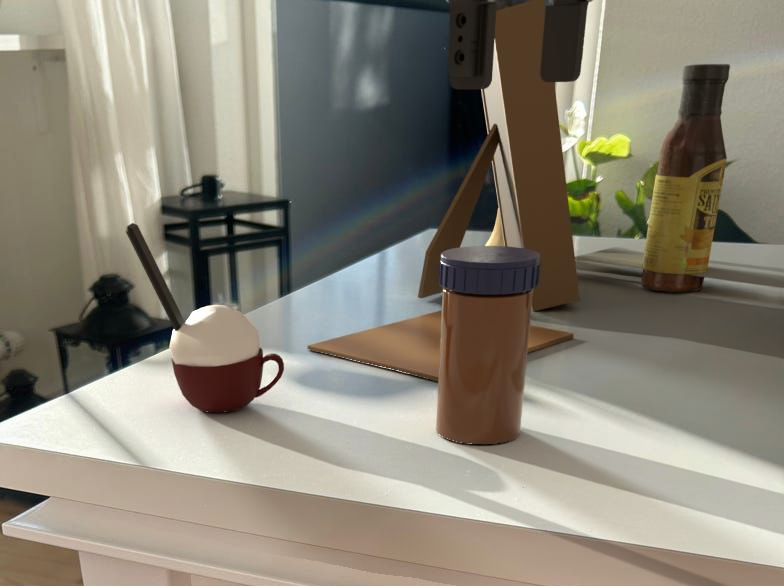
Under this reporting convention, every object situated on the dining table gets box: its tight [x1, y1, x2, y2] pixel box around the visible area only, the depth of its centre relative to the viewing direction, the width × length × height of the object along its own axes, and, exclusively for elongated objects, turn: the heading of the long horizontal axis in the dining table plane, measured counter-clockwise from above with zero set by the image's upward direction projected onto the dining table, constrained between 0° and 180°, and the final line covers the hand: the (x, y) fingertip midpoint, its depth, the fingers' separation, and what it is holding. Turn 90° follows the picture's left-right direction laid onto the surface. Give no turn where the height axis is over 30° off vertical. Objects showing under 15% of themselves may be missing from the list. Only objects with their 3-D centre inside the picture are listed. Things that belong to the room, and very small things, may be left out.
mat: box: [306, 309, 574, 382], centre depth 86 cm, size 18×14×1 cm
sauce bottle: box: [641, 63, 731, 293], centre depth 99 cm, size 6×6×20 cm
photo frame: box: [417, 0, 581, 312], centre depth 99 cm, size 15×22×25 cm
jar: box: [435, 288, 533, 445], centre depth 64 cm, size 5×5×10 cm
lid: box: [438, 245, 541, 294], centre depth 61 cm, size 6×6×2 cm
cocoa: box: [125, 222, 285, 413], centre depth 69 cm, size 10×6×12 cm, turn 60°
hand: (516, 85), depth 55 cm, fingers open, 8 cm apart
